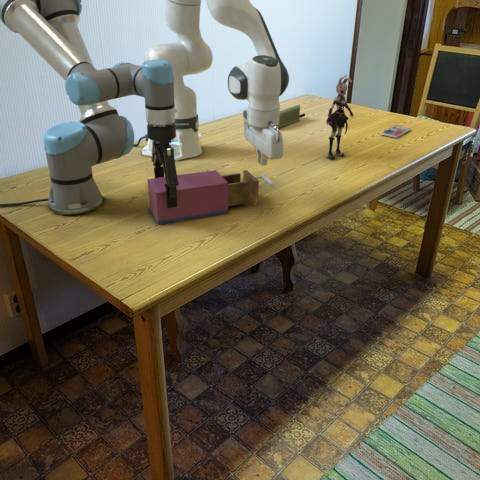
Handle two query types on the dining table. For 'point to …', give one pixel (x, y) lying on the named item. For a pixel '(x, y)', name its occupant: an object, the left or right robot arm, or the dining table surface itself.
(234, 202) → the drawer
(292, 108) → the handheld radio
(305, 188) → the dining table surface
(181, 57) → the right robot arm
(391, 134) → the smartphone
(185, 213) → the magenta elongated box
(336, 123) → the figurine
